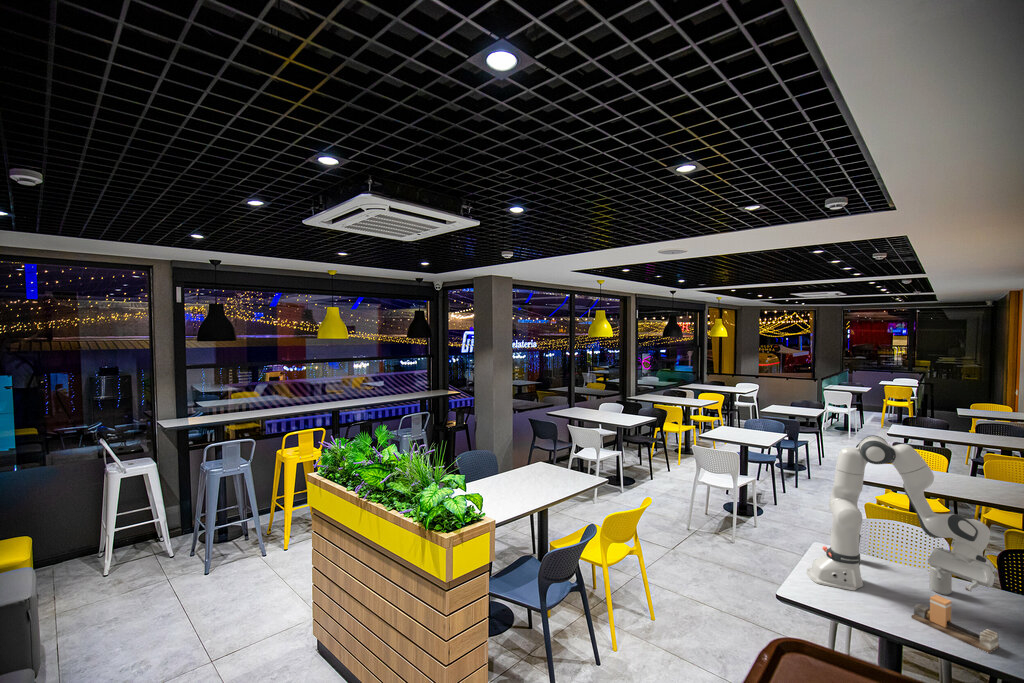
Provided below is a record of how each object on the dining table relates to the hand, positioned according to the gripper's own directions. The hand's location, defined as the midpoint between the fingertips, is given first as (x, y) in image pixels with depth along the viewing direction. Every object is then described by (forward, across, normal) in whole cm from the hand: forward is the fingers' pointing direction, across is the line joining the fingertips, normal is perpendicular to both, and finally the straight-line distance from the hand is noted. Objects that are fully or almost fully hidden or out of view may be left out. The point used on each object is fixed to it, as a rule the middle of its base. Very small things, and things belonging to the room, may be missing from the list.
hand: (953, 584), depth 193 cm
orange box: (+16, 0, +2) cm, 17 cm away
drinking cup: (-1, -48, +22) cm, 53 cm away
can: (-5, -13, +26) cm, 29 cm away
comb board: (+17, +4, +3) cm, 18 cm away
